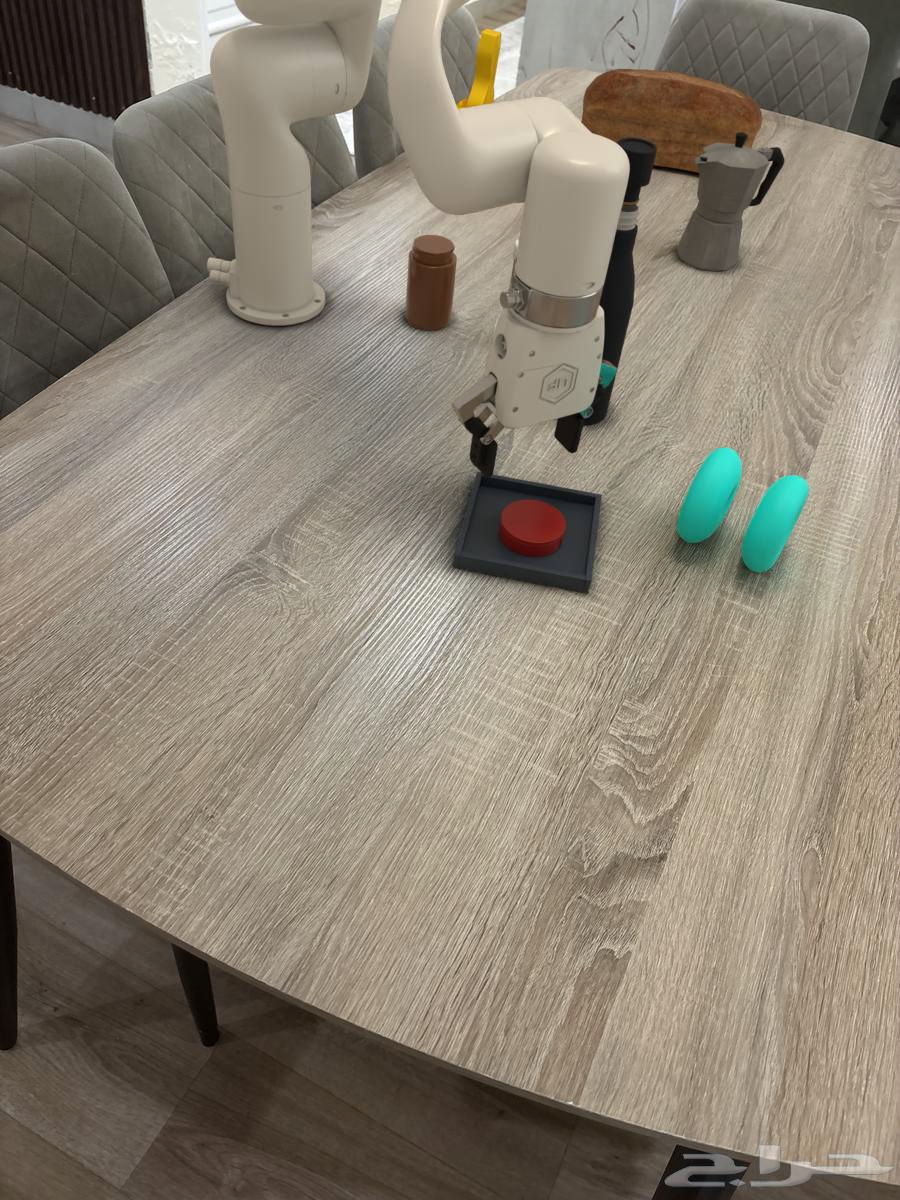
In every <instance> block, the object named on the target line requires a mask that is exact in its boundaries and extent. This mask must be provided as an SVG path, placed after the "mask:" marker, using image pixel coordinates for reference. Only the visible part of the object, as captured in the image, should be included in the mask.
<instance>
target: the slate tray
mask: <svg viewBox="0 0 900 1200" xmlns="http://www.w3.org/2000/svg"><path fill="white" fill-rule="evenodd" d="M602 497H603V495H602V494H601V493H595V492H590V491H585V490H579V489H573V488H568V487H564V486H557V485H552V484H547V483H541V482H536V481H531V480H526V479H521V478H514V477H509V476H504V475H498V474H494V473H493V474H492V476H490V477H487V478H486V477H485V476H484V475H483V474H482V473H481V472H480V471H476V474H475V477H474V481H473V484H472V488H471V491H470V495H469V498H468V502H467V505H466V510H465V514H464V517H463V520H462V524H461V528H460V531H459V534H458V538H457V542H456V545H455V549H454V553H453V558H452V560H453V561H452V568H455V569H461V570H466V571H472V572H477V573H481V574H487V575H492V576H495V577H496V576H497V577H502V578H508V579H511V580H518V581H522V582H528V583H533V584H539V585H543V586H548V587H554V588H558V589H563V590H568V591H575V592H580V593H585V594H588V593H589V592H590V587H591V584H592V581H593V580H592V579H593V571H594V565H595V564H594V562H595V555H596V548H597V547H596V546H597V539H598V538H597V537H598V531H599V530H598V529H599V521H600V513H601V505H602ZM520 500H537V501H542V502H545V503H547V504H550V505H552V506H553V507H555V508H556V509H558V510H559V511H560V512H561V514H562V515H563V516H564V518H565V521H566V528H565V533H564V537H563V542H562V544H561V547H560V548H559V549H558V550H556V551H555V552H554V553H552V554H549V555H546V556H541V557H530V556H525V555H521V554H518V553H516V552H514V551H512V550H510V549H509V548H508V547H507V546H505V544H504V543H503V542H502V541H501V539H500V536H499V526H500V520H501V515H502V512H503V510H504V509H505V508H506V507H507V506H508V505H510V504H511V503H513V502H516V501H520Z"/></svg>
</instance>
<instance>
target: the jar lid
mask: <svg viewBox="0 0 900 1200" xmlns="http://www.w3.org/2000/svg"><path fill="white" fill-rule="evenodd" d="M565 528H566V521H565V518H564V516H563V515H562V514H561V512H560V511H559V510H558V509H556V508H555V507H553V506H552V505H550V504H547V503H545V502H542V501H537V500H520V501H516V502H513V503H511V504H510V505H508V506H507V507H506V508H505V509H504V510H503V512H502V515H501V520H500V526H499V536H500V539H501V541H502V542H503V543H504V544H505V546H507V547H508V548H509V549H510V550H512V551H514V552H516V553H518V554H521V555H525V556H530V557H541V556H546V555H549V554H552V553H554V552H555V551H556V550H558V549H559V548H560V547H561V544H562V542H563V537H564V533H565Z"/></svg>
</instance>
